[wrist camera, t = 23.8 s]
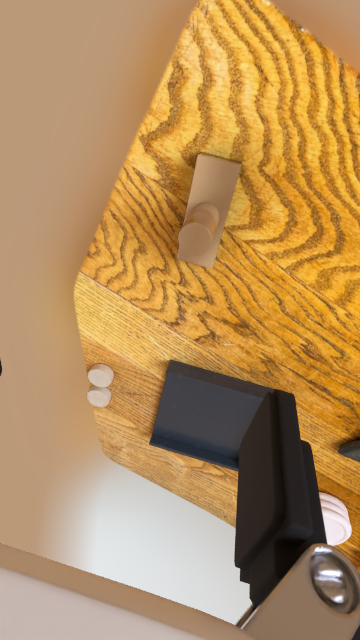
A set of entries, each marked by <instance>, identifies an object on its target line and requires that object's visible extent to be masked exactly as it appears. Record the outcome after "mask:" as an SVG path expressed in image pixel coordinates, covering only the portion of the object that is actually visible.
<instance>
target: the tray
mask: <svg viewBox="0 0 360 640" xmlns="http://www.w3.org/2000/svg"><path fill="white" fill-rule="evenodd" d="M166 374H167V375H166V379H165V383H164V387H163V392H162V396H161V400H160V404H159V408H158V412H157V416H156V421H155V425H154V429H153V433H152V436H151V439H150V443H149V445H152V446H155V447H159V448H162V449H165V450H168V451H172V452H175V453H178V454H182V455H185V456H188V457H192V458H195V459H198V460H202V461H205V462H208V463H212V464H215V465H218V466H222V467H225V468H228V469H232V470H235V471H239V451H240V445H241V442H242V439H243V438H244V436H245V434H246V432H247V430H248V428H249V426H250V424H251V422H252V420H253V418H254V416H255V414H256V412H257V410H258V408H259V406H260V404H261V403H262V401H263V399H264V397H265V395H266V393H267V392H273V391H274V389H271V388H268V387H264V386H261V385H257V384H254V383H250V382H247V381H243V380H240V379H236V378H233V377H229V376H226V375H222V374H219V373H215V372H212V371H208V370H205V369H201V368H198V367H194V366H191V365H187V364H184V363H180V362H177V361H173V360H170V363H169V366H168V368H167V372H166Z"/></svg>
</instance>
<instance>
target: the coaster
mask: <svg viewBox="0 0 360 640" xmlns="http://www.w3.org/2000/svg"><path fill="white" fill-rule="evenodd" d="M319 496H320V502H321V508H322V514H323V520H324V526H325V532H326V538H327V544H328V545H331V546H334V545H338V544H341V543H343V542H345V541H346V540H347V539H348V538H349V537H350V535H351V531H352V529H351V525H350V520H349V517H348V511H347V509H346V507H345V505H344V504H343V503H342V502H341V501H340V500H339V499H337V498H335V497H334V496H332V495H329V494H327V493H323V492H319Z"/></svg>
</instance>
